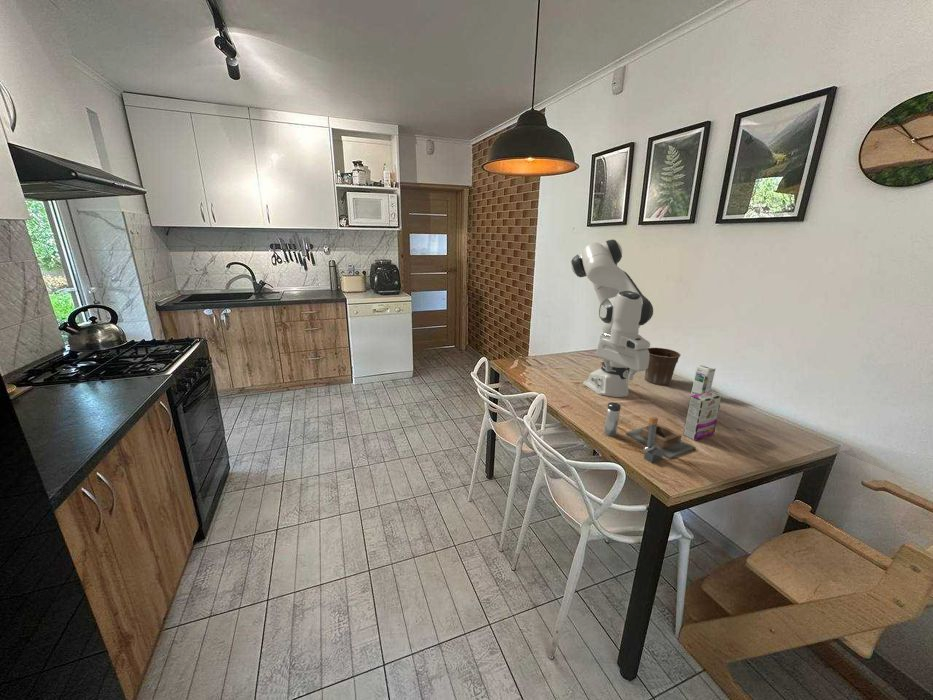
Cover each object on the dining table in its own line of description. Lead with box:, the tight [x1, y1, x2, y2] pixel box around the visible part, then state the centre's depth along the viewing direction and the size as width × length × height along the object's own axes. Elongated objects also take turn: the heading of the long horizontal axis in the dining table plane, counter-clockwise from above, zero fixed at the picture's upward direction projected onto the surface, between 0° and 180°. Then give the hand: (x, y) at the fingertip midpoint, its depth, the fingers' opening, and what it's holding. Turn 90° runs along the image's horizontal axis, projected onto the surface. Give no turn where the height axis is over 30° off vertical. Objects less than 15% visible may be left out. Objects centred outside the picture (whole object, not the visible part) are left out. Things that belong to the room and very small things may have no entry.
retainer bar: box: [646, 416, 659, 447], centre depth 122 cm, size 1×3×10 cm, turn 116°
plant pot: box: [644, 347, 681, 386], centre depth 190 cm, size 16×16×16 cm
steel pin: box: [603, 401, 621, 437], centre depth 137 cm, size 4×4×12 cm
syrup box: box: [690, 364, 716, 396], centre depth 173 cm, size 6×6×14 cm
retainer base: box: [642, 445, 663, 464], centre depth 123 cm, size 4×5×4 cm
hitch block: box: [625, 423, 697, 460], centre depth 133 cm, size 18×14×4 cm
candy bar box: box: [682, 390, 723, 441], centre depth 137 cm, size 11×5×16 cm, turn 114°
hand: (618, 375), depth 132 cm, fingers open, 8 cm apart
